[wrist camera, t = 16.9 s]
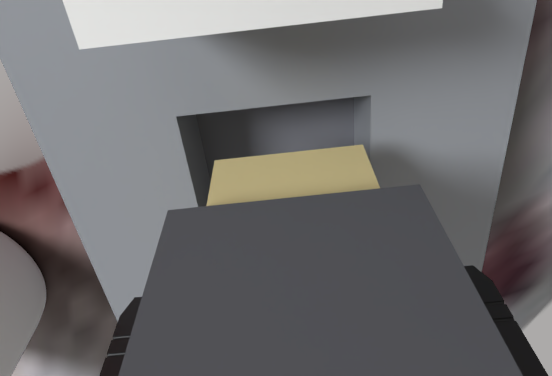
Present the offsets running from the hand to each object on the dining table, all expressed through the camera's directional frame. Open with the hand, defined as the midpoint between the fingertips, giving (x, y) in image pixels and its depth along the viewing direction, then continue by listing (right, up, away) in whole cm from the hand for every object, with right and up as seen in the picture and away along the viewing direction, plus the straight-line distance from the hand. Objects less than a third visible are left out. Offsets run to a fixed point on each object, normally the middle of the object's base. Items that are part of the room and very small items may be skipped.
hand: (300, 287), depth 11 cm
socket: (-1, +4, +6) cm, 8 cm away
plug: (0, +2, +3) cm, 3 cm away
